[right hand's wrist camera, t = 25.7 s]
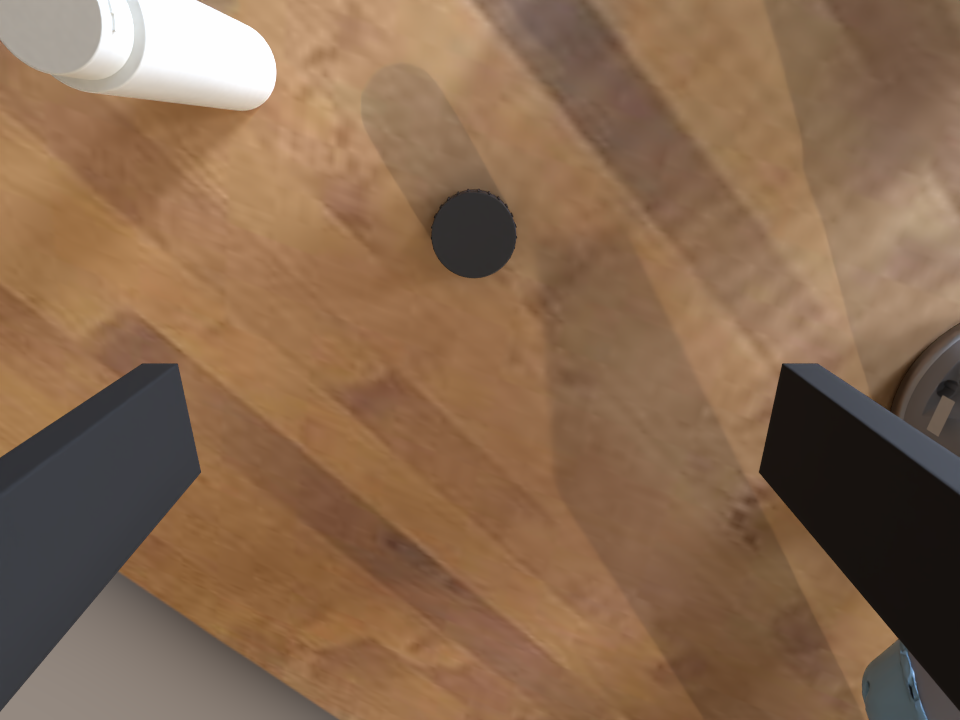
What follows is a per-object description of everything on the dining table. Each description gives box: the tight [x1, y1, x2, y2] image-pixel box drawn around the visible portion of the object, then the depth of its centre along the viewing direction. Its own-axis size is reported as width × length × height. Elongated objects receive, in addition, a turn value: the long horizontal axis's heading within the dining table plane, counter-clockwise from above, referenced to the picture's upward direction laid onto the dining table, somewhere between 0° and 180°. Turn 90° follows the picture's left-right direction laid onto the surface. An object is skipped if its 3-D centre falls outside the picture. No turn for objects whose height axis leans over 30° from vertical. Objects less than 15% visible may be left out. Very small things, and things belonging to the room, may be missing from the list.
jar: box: [0, 0, 276, 111], centre depth 26 cm, size 5×5×16 cm
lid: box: [431, 189, 517, 278], centre depth 36 cm, size 5×5×2 cm
